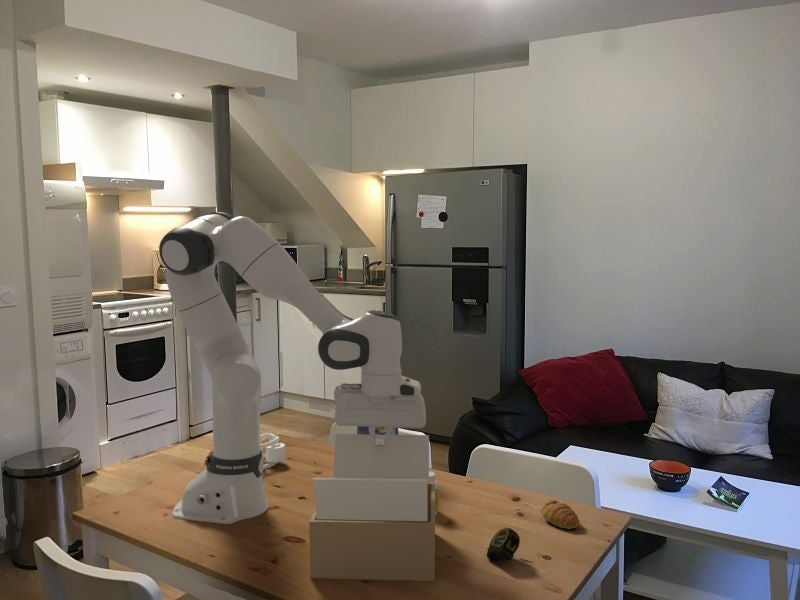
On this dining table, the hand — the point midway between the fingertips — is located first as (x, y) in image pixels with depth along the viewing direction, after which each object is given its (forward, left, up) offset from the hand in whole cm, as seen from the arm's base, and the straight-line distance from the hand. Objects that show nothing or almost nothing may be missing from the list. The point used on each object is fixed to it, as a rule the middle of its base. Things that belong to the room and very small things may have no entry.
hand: (380, 445), depth 152 cm
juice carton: (-4, +38, -20) cm, 44 cm away
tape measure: (+26, -14, -20) cm, 36 cm away
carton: (0, -12, -20) cm, 23 cm away
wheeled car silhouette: (-40, +41, -20) cm, 61 cm away
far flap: (0, -1, -7) cm, 8 cm away
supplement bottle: (+10, +11, -20) cm, 25 cm away
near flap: (0, -22, -7) cm, 23 cm away
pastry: (+40, +4, -21) cm, 45 cm away
